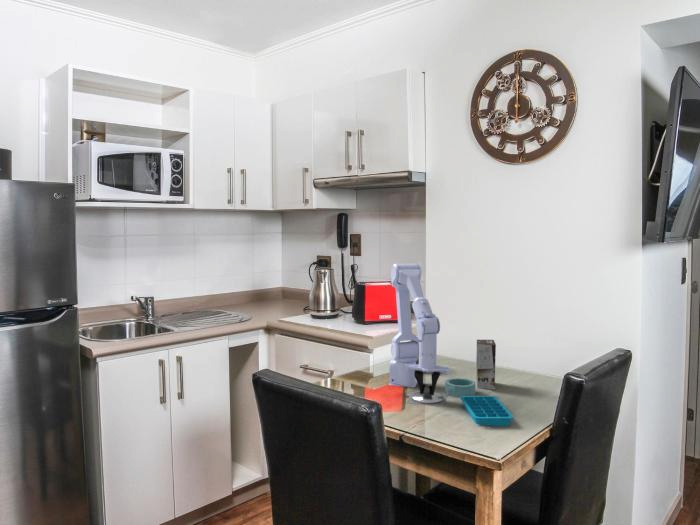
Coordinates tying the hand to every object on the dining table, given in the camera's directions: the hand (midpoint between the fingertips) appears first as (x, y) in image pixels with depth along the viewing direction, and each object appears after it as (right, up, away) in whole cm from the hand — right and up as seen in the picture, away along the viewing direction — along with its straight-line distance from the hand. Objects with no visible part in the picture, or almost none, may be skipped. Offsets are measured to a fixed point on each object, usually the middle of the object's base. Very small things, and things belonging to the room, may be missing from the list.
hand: (427, 393), depth 179 cm
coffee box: (+23, -1, +16) cm, 29 cm away
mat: (0, -2, 0) cm, 2 cm away
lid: (0, -2, 0) cm, 2 cm away
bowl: (+12, -2, +7) cm, 14 cm away
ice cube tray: (+16, -4, -14) cm, 21 cm away
